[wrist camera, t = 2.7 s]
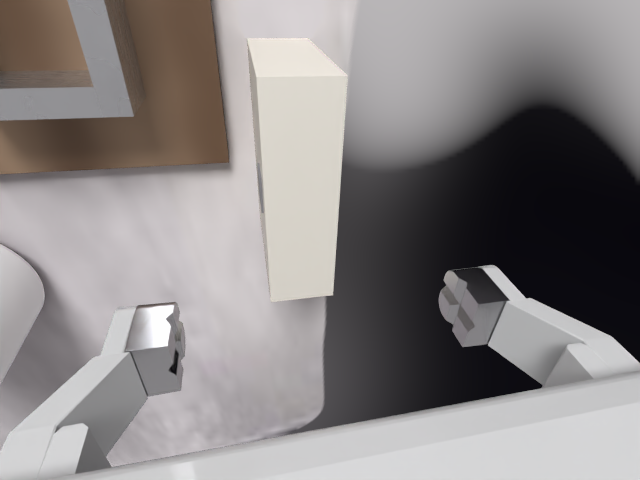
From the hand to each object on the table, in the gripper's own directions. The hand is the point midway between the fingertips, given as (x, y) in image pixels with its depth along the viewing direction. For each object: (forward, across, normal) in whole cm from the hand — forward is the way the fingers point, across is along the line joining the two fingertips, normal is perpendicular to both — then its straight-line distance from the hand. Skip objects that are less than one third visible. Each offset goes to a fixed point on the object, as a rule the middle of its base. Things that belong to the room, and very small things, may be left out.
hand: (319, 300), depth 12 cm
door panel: (+13, 0, 0) cm, 13 cm away
